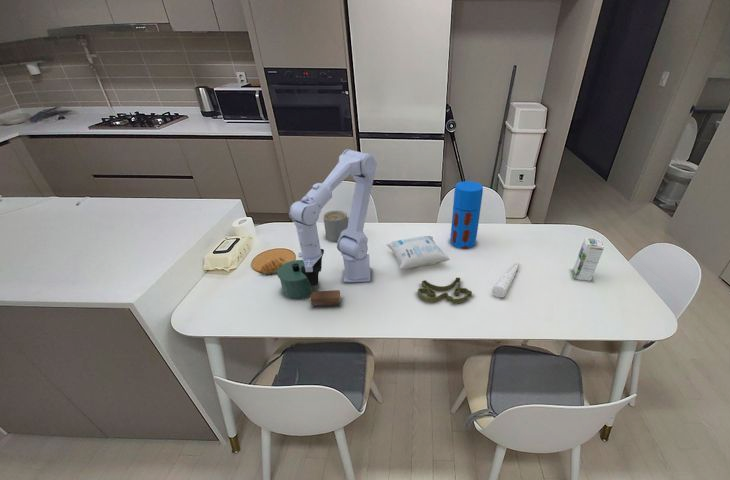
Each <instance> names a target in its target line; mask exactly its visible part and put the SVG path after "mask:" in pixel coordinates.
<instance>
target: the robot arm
mask: <svg viewBox="0 0 730 480" xmlns="http://www.w3.org/2000/svg"><path fill="white" fill-rule="evenodd" d="M377 165H378V163H377V160H376V159H375V156H374V155H373V154H371V153H365V152H361V151H356V150H352V149H350V148H346V149H345V150H343V152H342V153H341V154H340V155H339V157H338V162H337V164H336V165H335V166H334V168H333V169H332V170H331V172H330V173H329V174H328V176H327V177H326V178H325V179H324V181H323V182H316V183H314V184H313V185H312V186H311V188H310V190H308V192H306V194H305V195H304V196H303V197H302V198H301V199H300V200H296V201H295V202H293V203H292V204H291V205H290V207H289V213H288V216H289V218H290V219H291V220H292V222H293V224H294V226H295V228H296V233H297V238H298V242H299V247H300V252H298V254H297V256H298V258H301V260H303V261H304V264H305V266H302V267H301V272H302V273H303V274H304V275H305V276H306V277H307V279H308V281H309V282H310V284H311V286H317V287H318V286H319V279H320V278H319V274H320V272H322V265H323V264H322V263H323V262H322V261H323V256H324V253H325V250H324V248H321V243H320V238H319V237H320V236H319V233H318V231H319V230H318V226H317V222H318V220H319V218H320V214H321V213H322V209H323V208H324V207H325V206H326V205H327V204H328V202H329V201H330V200H331V199H332V198H333V191H334V190H335V189H336V188H337V187H338V186H339V185H340V184H341V183H342V182H343V181H345V179H346V178H348V177H349V176H351V177H352V178H353V179H354V181H355V185H354V191H353V196H352V200H351V207H350V211H349V216H348V217H349V222H348V227H347V229H345V230H343V231H342V232H341V235H340V238H339V240H338V242H336V249H337V251H338V252H339V253H340V254H341V255H340V256H342V261H343V267H344V276H343V283H364V282H371V273H372V267H371V262H370V260H371V259H370V254H369V253H368V251H369V250H368V249H369V246H368V241H369V238H368V237H367V235H366V233H365V232H364V228H365V222H366V219H367V214H368V208H369V203H370V198H371V193H372V188H373V184H374V179H375V175H376V171H377V170H376V169H377Z"/></svg>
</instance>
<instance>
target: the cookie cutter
mask: <svg viewBox="0 0 730 480" xmlns="http://www.w3.org/2000/svg"><path fill="white" fill-rule="evenodd" d="M457 283H458V284H457ZM456 284H457V286H456ZM460 285H461V277H455V279H454V281H453V282H452V283H450V284H448V285H443V286H440V285H435V284H432V283H430V282H429V281H427V280H424V279H423V280H421V288H417V295H418V297H419V299H421V300H422V301H423V302H426V303H429V304H432V303H437V302H439V301H442V300H443V299H444V298H446V300H447V302H451V303H452V305H456V304H462V303H464V302H466V301H467V300H468V298H471V297H472V294H473V291H472V290H469V289H468V288H467V287H460ZM455 286H456V288H454V287H455ZM453 288H454V290H453V291H454V292H453V296H452V295H449V292H448V291H450V290H452V289H453ZM436 292H443V293H441V294H439V295H437V296H436V294H437V293H436ZM424 294H427V295H424ZM460 294H465V296H462V297H459V296H460ZM454 297H459V298H454Z"/></svg>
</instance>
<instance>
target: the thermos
mask: <svg viewBox="0 0 730 480" xmlns="http://www.w3.org/2000/svg"><path fill="white" fill-rule="evenodd" d="M453 191H454V193H453V204H452V215H451V228H450V245H452V246H453V247H455V248H456V249H461V250H469V249H472V248H474V247H475V245H476V242H477V237H478V230H479V223H480V216H481V215H480V214H481V207H482V200H483V193H484V187H483V184H481V183H479V182H477V181H470V180H469V181H468V180H465V181H464V180H463V181H459V182H457V183H456V184H455V186H454V190H453Z"/></svg>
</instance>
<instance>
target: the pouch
mask: <svg viewBox="0 0 730 480" xmlns="http://www.w3.org/2000/svg"><path fill="white" fill-rule="evenodd" d="M385 246H387V247H388V248H389V250H391V251H392V253H393V254H394V255H395V257H396V258H397V260H398V263H399V269H400V270H401V269H402V270H405V269H407V270H408V269H413V268H418V267H423V266H429V265H434V264H440V263H444V262H447V261H451V257H450V256H448V255H447V254H446V253H445V251H443V250H442V249H441V248H440V247H439V246H438V245H437V244H436V242H435V241H434V239H433V236H431V235H425V236H423V235H422V236H417V237H411V238H403V239H399V240H395V241H394V240H393V241H392V242H391V241H390V242H389V243H386V244H385Z"/></svg>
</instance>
